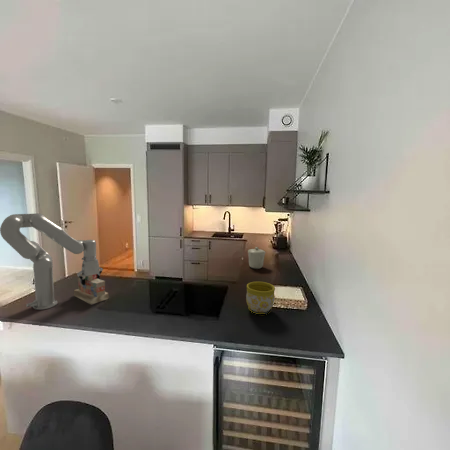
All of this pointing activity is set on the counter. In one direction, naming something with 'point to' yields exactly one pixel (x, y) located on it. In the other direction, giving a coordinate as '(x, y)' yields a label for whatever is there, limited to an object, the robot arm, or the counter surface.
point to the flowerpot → (260, 297)
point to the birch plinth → (90, 297)
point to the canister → (256, 258)
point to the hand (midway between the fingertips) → (90, 282)
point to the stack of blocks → (92, 285)
